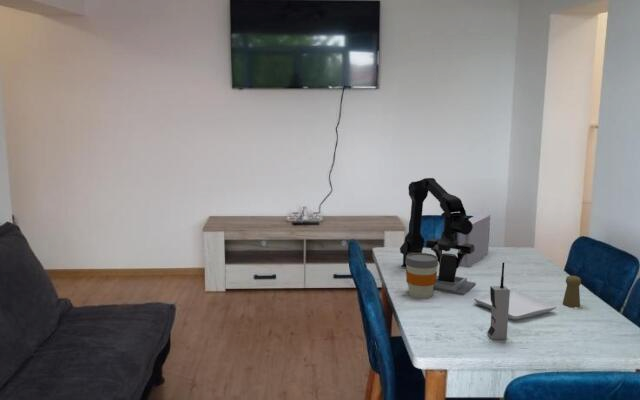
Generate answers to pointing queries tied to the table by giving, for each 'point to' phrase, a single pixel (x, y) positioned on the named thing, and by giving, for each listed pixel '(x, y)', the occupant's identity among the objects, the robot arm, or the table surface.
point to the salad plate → (519, 304)
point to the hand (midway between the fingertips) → (448, 266)
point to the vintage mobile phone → (499, 310)
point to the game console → (476, 239)
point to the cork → (572, 292)
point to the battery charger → (447, 267)
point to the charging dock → (454, 286)
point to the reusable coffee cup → (421, 274)
